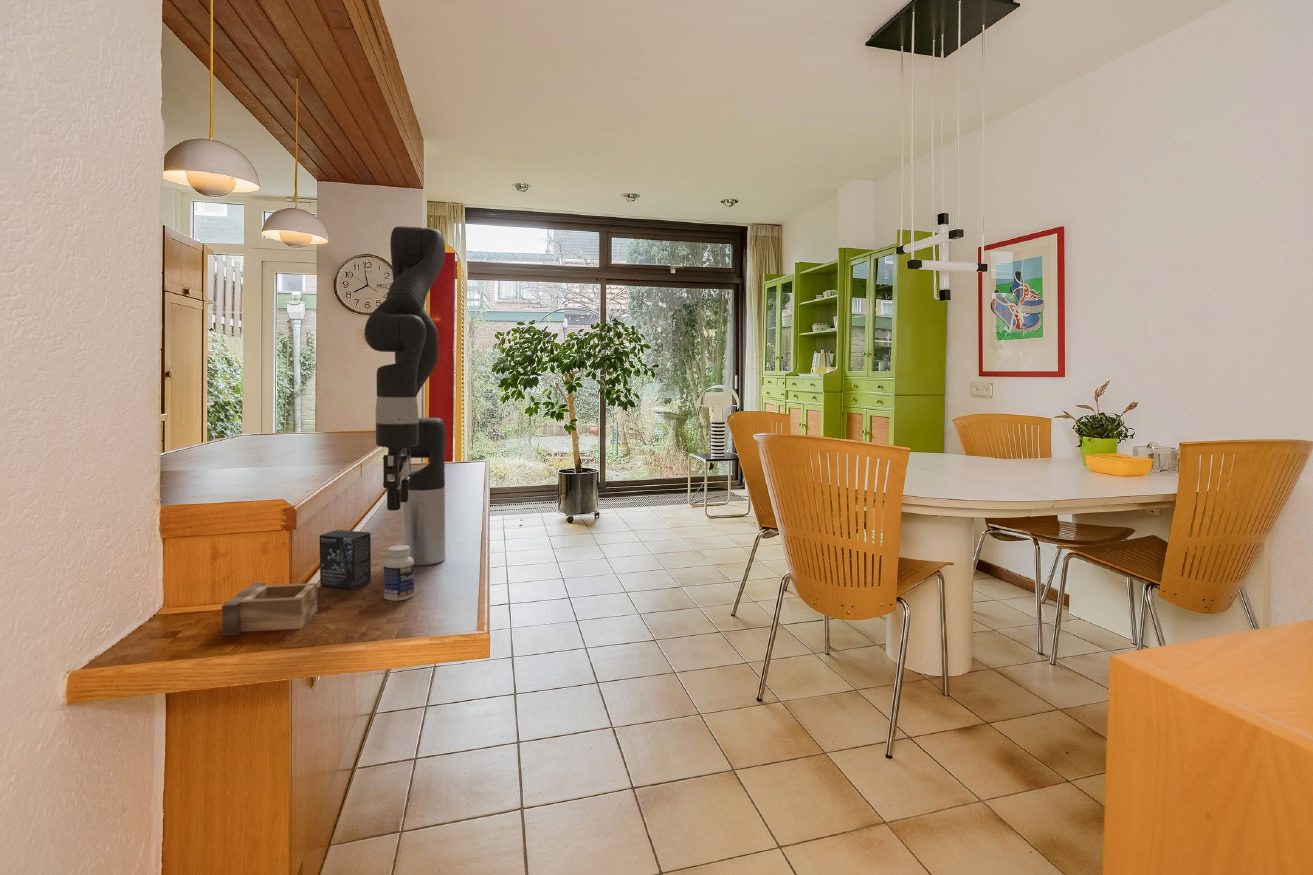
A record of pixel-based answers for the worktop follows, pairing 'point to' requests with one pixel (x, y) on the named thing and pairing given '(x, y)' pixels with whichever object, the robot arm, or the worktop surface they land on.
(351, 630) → the worktop surface
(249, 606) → the light brown wooden tray
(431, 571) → the worktop surface
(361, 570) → the box
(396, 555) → the pill bottle
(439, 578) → the worktop surface
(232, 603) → the plank
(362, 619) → the worktop surface
